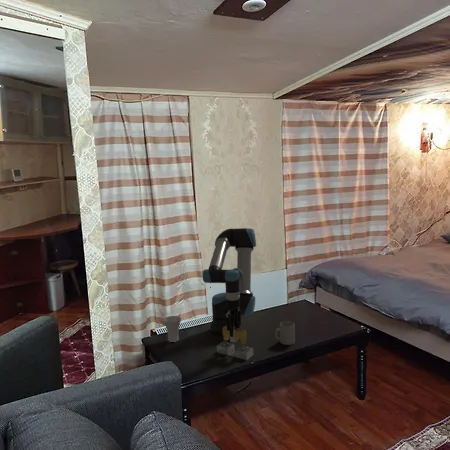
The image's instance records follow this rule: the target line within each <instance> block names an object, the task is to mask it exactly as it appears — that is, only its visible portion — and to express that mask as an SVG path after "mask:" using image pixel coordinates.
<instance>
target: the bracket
mask: <svg viewBox="0 0 450 450" xmlns="http://www.w3.org/2000/svg"><path fill="white" fill-rule="evenodd" d="M235 348H236V347H235V343H234V342H230V341H226V340H223V341H222V342H220V343H219V344H217V345H216V352H217V354H221V355H225V356H228V357H233V358H237V359H240V360H245V361H249V359H250V358H251V357H253V356H254V347H251V346H247V345H244V344H241V345H240V346H239V347H238V348H236V349H235Z"/></svg>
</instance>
